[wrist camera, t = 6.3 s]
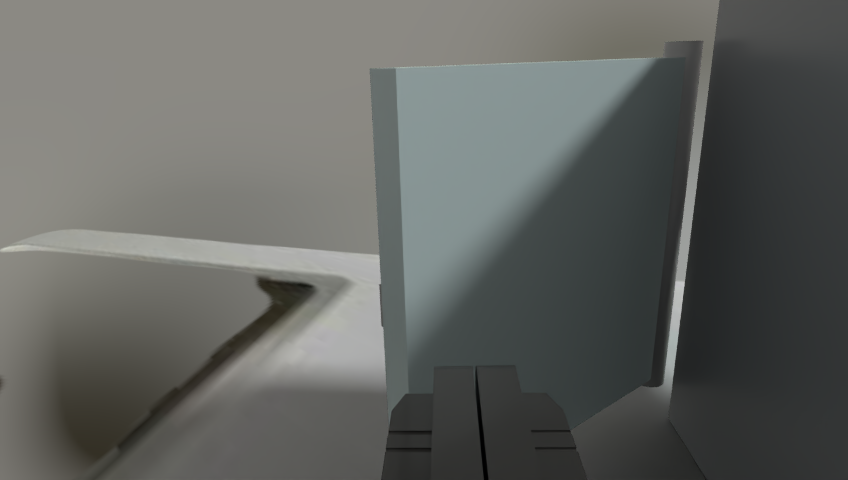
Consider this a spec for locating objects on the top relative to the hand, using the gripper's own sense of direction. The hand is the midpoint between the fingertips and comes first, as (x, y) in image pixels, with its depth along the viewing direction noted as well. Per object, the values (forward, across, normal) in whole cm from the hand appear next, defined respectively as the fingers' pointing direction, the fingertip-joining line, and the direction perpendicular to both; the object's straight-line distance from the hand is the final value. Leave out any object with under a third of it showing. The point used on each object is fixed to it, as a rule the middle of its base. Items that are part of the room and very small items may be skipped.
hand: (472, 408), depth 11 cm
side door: (+8, -3, +6) cm, 11 cm away
